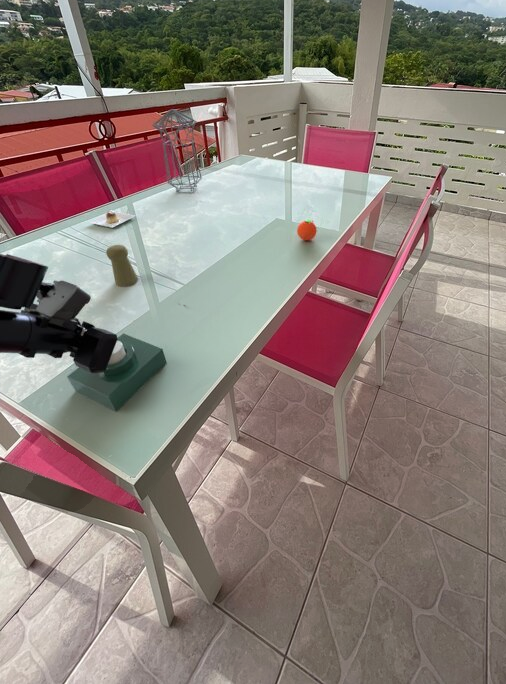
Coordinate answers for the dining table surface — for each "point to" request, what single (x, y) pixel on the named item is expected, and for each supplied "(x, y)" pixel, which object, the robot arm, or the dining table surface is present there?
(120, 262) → the cork
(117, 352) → the white push button
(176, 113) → the geometric lantern
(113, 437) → the dining table surface
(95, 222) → the dessert
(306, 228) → the clementine
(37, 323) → the robot arm
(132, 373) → the green push button box
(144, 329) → the dining table surface
